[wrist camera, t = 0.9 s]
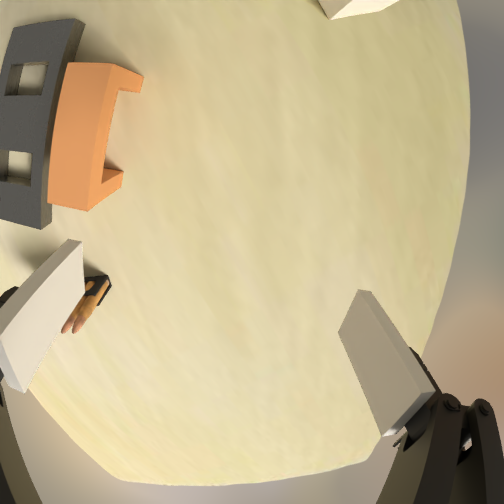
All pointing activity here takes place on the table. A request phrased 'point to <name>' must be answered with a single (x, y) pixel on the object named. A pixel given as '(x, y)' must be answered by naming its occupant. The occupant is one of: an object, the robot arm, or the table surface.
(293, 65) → the table surface
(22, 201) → the gray slotted base board
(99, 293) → the ammunition clip
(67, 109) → the clip
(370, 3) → the corner bracket
